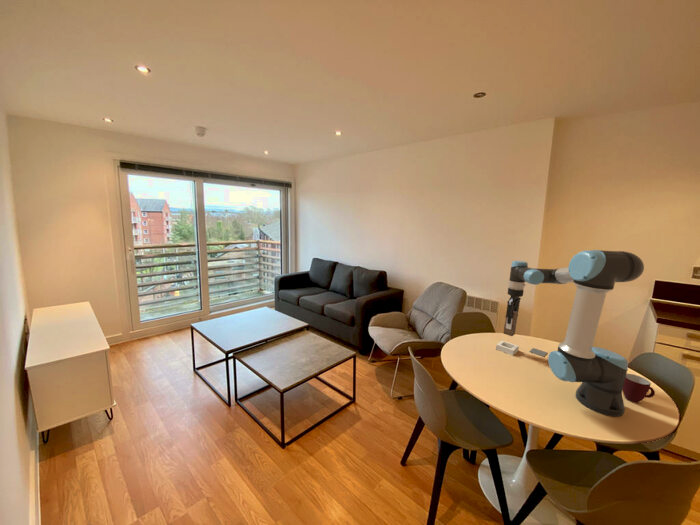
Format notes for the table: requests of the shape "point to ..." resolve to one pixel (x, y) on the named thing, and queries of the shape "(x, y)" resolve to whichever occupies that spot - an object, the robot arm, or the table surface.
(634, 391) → the mug
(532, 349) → the mat
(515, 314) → the peg
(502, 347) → the socket block
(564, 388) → the table surface
